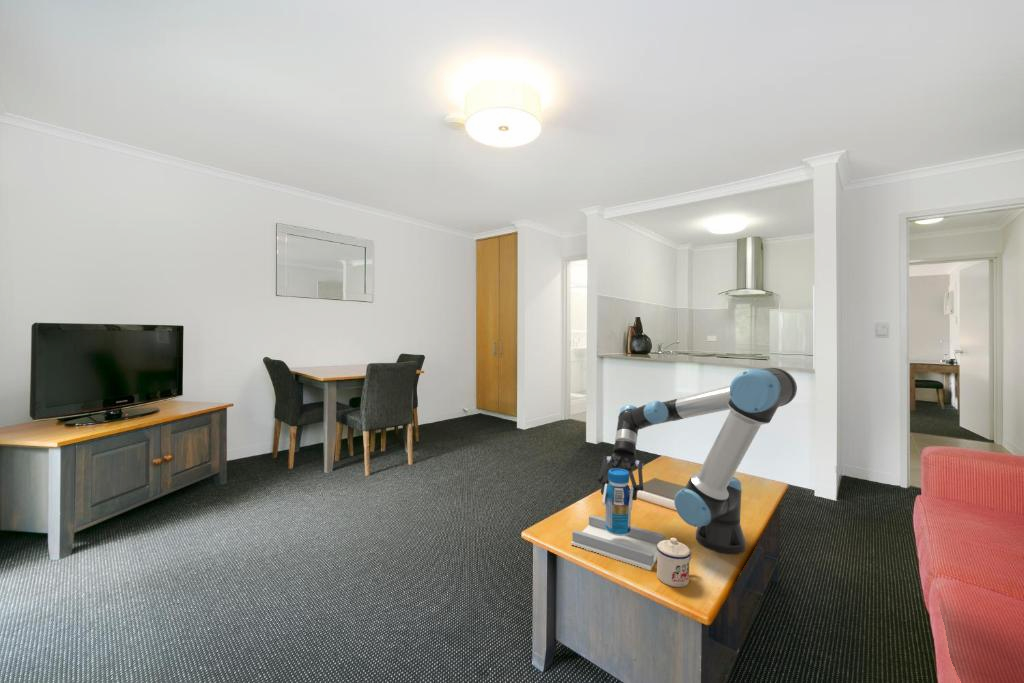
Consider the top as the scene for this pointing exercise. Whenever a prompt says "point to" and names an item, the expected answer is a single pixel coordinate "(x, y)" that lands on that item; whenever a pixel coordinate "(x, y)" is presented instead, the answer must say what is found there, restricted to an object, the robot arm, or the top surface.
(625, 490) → the beverage bottle
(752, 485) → the top surface
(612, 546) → the tray
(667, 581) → the teacup with lid
